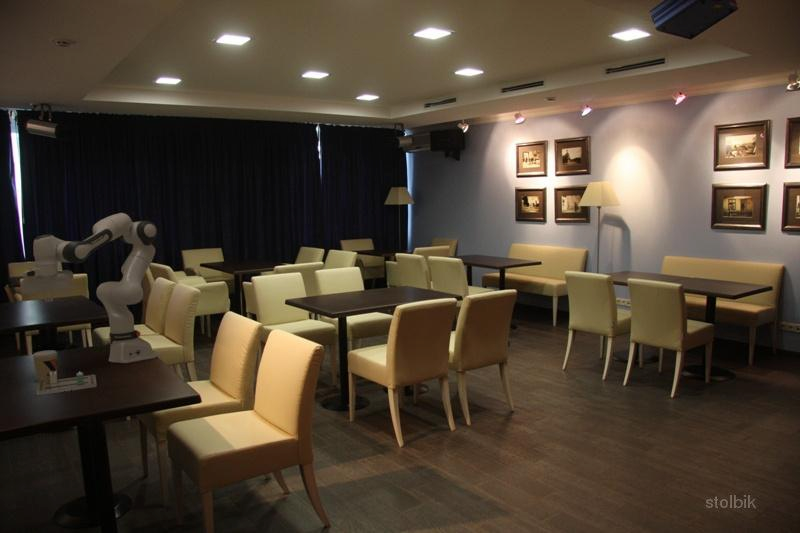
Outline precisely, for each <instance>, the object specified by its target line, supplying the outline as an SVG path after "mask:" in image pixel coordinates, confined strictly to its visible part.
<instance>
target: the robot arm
mask: <svg viewBox="0 0 800 533" xmlns="http://www.w3.org/2000/svg"><path fill="white" fill-rule="evenodd" d="M92 234H93V235H91V236H89V237H87V238H86V239H83V240H75V241H71V240H70V241H69V240H68V241H66V240H63V239H60V238H58V237H55V236H54V235H53V234H41V235H38V236H36V237H35V238H34V240H33V246H32V247H33V250H32V251H33V256H34V267H33V268H29V269H28V270H25V271H24V272H23V276H24V277H23V278H22V281H21V292H22V293H23V294H35V293H36V294H37V293H41V296H42V297H43V298H44V301H45V303H47V302H48V303H49V302H50V303H51V302H54V301H53V300H54V299H53V298H54V295H55V294H56V292H60V291H61V292H62V291H63V292H64V291H72V290H73V289H74V283H73V278H74V273H73V271H72V270H70V269H63V270H62V269H61V270H60V269H59V270H58V262H60V263H71V264H82V263H83V262H85V261H86V260H87V259H88V257H90V255H91V254H93V253H94V252H95V251H97V250H98V249H100V248H102V247H103V246H105V245H107V243H108V244H109V243H110V242H113V240H116V239H118V238H120V241H121V242H123V243H125V244H126V245H127V244H128V245H132V250H131V252H130V253H129V255H128V256H127V258H126V259H125V261H124V263H123V264H122V265H121V268H120V269H121V270H120V271H121V273H122V275H123V276H122V278H121V280H120V281H106V282H103V283H100V284H99V285H98V287H97V288H96V297H97V299H98V300H99V301H100V302H101V303H102V304H103V307H104V308H105V310H106V313H107V317H108V322H109V324H108V325H109V332H108V333H109V335H108V337H109V340H108V341H109V344H110V349H109V350H110V351H109V357H108V362H111V363H120V364H128V363H129V364H130V363H135V362H140V361H146V360H150V359H156V358H157V357H158V352H156V351H154V350H153V348H152V345H151V343H150V342H149V341H146V339H143V338H142V337H140V336H141V332H140V331H139V330H137V329H135V319H134V317H135V316H134V315H133V313H132V312H131V311H130V309H129V308H128V306H129V305H136V304H138V303H140V302H141V301H142V300H143V298H144V290H143V288H142V281H143V279H144V276H145V274H146V272H147V271H148V269H149V268H150V265H151V264H152V262H153V259H154V256H155V255H156V247H155V246H154V245H153V244H155V242H156V238H157V236H158V229H157V226H156V225H155V223H154V222H152V221H149V220H141V221H134V222H133V220H132V218H131V217H130V216H129V215H128V214H127V213H124V212H120V213H115V214H112V215H109V216H107V217H104V218H103V219H100V220H98V221H97V222H96V223H95V224H94V225H93V226H92ZM48 292H50V294H51V296H49V297H48V296H46V293H48Z"/></svg>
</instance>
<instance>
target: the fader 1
mask: <svg viewBox="0 0 800 533" xmlns="http://www.w3.org/2000/svg"><path fill="white" fill-rule="evenodd" d="M57 380H58V372H57V373H56V371H55V372H54V371H52V372H50V384H53V383H57Z"/></svg>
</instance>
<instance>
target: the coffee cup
mask: <svg viewBox="0 0 800 533" xmlns="http://www.w3.org/2000/svg"><path fill="white" fill-rule="evenodd" d="M32 358H33V365H34V369H35V371H34V372H35V375H36V376H35V377H36V381H37V380H38V381H37V382H41V381H43V382H45V381H49V380H50V372H52V371H54V372H55V371H56V373H57V374H58V352H57V350H51V349H50V350H41V351H36V352H34V353H33V354H32Z"/></svg>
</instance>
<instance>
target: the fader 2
mask: <svg viewBox="0 0 800 533" xmlns="http://www.w3.org/2000/svg"><path fill="white" fill-rule="evenodd" d="M83 376H84V372H81V371H78V372H77V373H76V377H77V385H80V384H84V380H83Z"/></svg>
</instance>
